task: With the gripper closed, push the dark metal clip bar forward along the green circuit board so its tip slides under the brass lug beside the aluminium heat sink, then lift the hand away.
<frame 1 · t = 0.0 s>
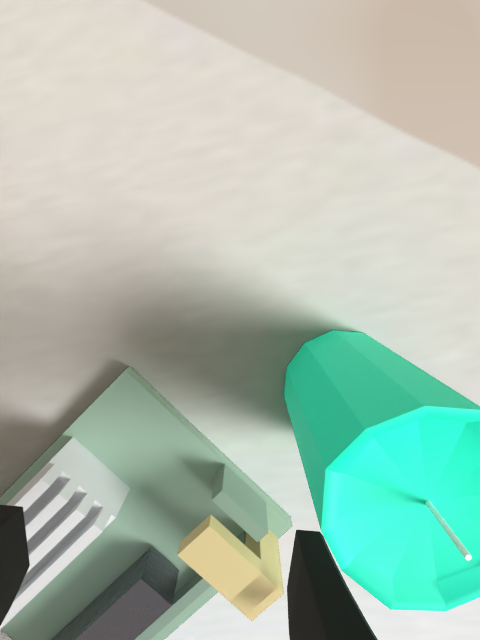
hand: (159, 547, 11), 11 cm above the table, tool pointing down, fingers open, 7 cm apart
candle: (340, 384, 21), on the table
board: (112, 538, 22), on the table
clip bar: (98, 637, 20), point 3 cm above the table, slide at 0.0 cm
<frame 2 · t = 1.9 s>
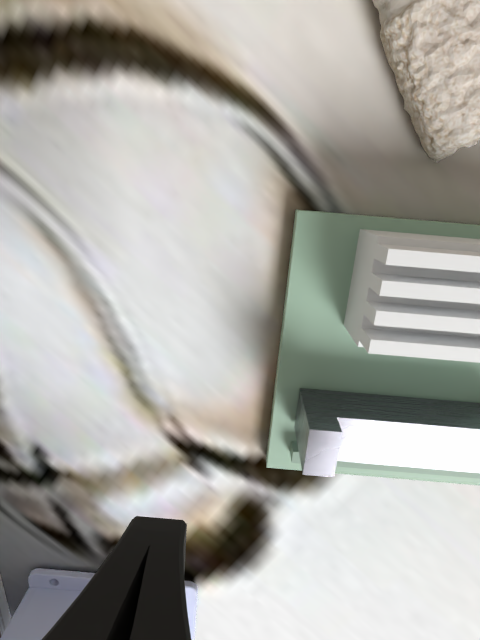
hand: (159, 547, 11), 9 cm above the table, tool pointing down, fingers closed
board: (455, 360, 18), on the table
clip bar: (410, 437, 16), point 3 cm above the table, slide at 0.0 cm
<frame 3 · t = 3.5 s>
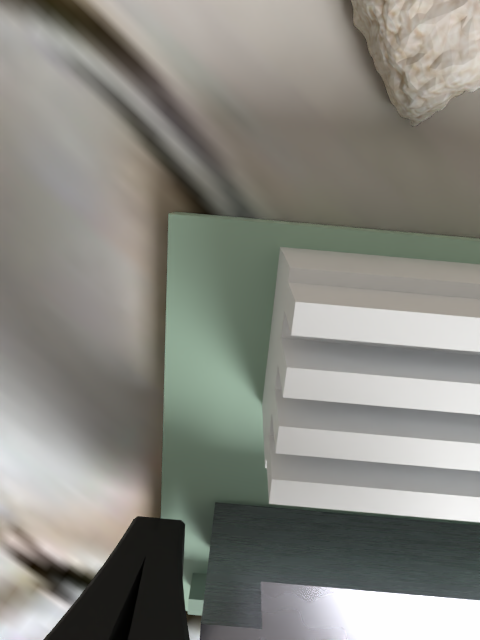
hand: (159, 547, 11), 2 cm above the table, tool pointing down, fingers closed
board: (448, 453, 11), on the table
clip bar: (391, 600, 10), point 3 cm above the table, slide at 0.5 cm, touching gripper
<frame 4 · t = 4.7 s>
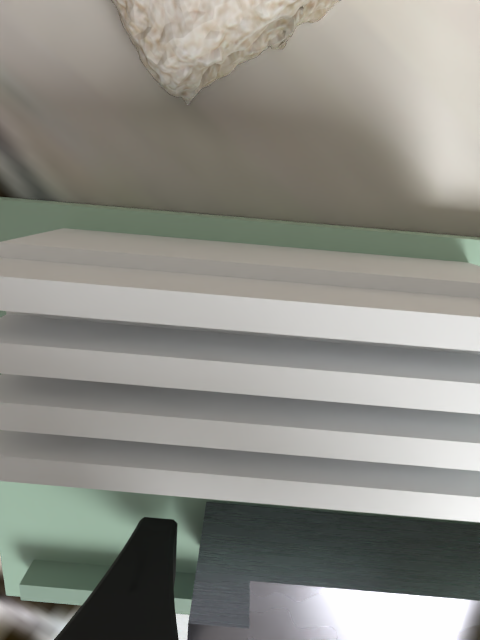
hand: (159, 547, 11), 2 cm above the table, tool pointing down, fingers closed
board: (280, 438, 11), on the table
clip bar: (382, 600, 10), point 3 cm above the table, slide at 5.1 cm, touching gripper
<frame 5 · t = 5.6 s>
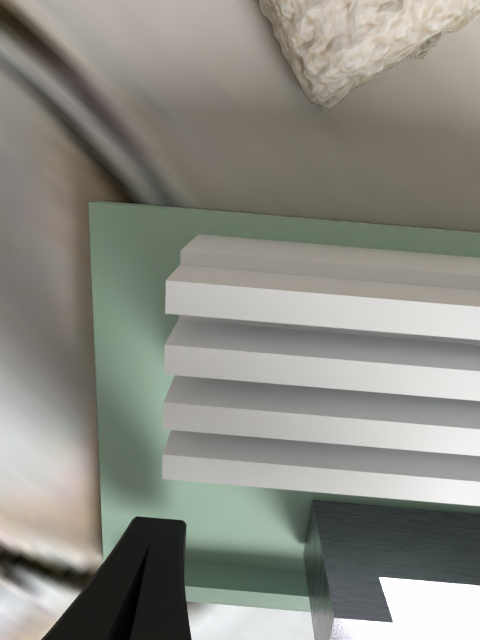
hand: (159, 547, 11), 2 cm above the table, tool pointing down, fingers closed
board: (382, 438, 12), on the table
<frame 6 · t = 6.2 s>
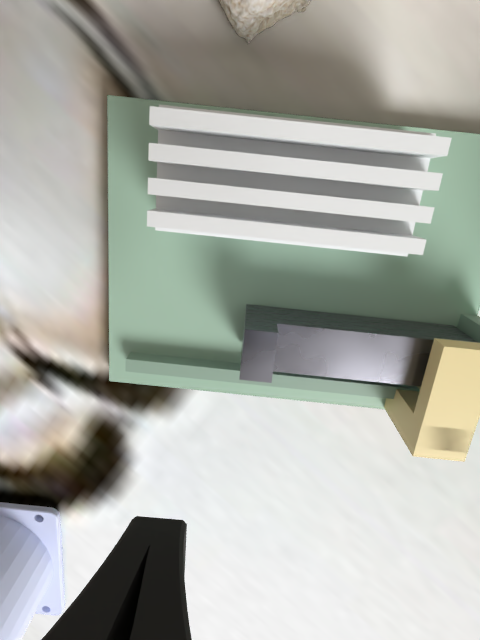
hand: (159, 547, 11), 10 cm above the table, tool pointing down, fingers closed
board: (294, 269, 18), on the table
clip bar: (354, 350, 16), point 3 cm above the table, slide at 5.0 cm
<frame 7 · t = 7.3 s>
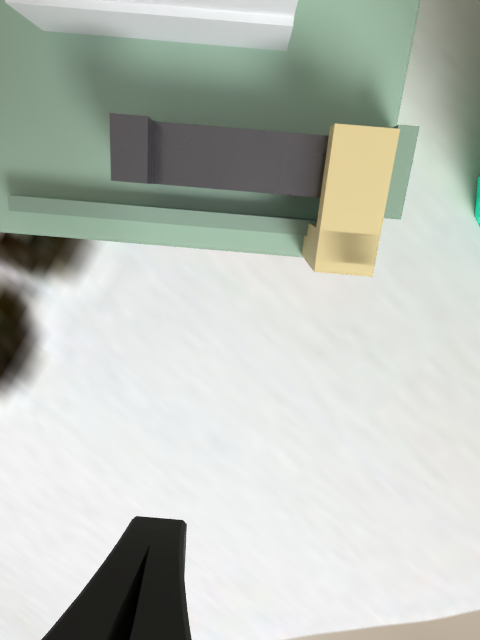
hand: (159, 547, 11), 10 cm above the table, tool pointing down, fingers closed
board: (193, 93, 16), on the table
clip bar: (250, 162, 14), point 3 cm above the table, slide at 5.0 cm
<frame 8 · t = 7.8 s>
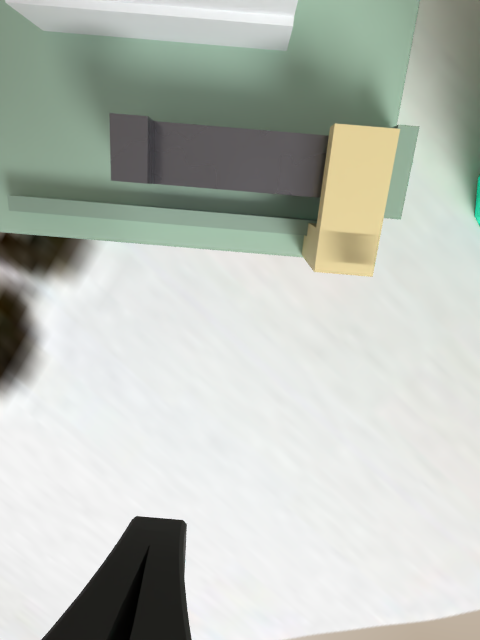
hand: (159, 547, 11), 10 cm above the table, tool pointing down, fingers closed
board: (193, 93, 16), on the table
clip bar: (250, 162, 14), point 3 cm above the table, slide at 5.0 cm
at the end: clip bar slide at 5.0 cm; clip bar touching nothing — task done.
